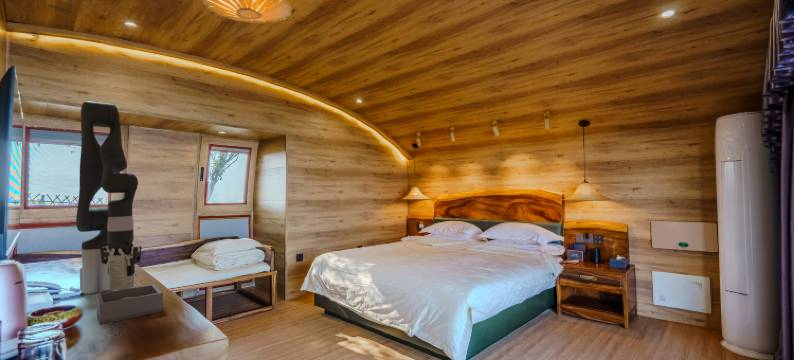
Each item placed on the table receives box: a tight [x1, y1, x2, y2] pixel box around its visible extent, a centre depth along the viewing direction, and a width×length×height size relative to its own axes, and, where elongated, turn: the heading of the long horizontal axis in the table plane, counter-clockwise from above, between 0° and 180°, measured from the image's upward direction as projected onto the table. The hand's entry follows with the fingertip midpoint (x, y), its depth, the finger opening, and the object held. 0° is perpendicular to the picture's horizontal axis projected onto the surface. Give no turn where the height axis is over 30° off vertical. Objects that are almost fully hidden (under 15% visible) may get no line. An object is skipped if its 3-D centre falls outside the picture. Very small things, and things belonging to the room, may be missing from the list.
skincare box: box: [108, 254, 135, 291], centre depth 134 cm, size 6×4×12 cm
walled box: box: [96, 283, 164, 326], centre depth 122 cm, size 16×16×6 cm
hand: (121, 275), depth 134 cm, fingers closed on skincare box, 6 cm apart
